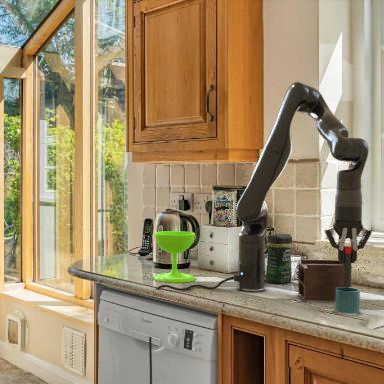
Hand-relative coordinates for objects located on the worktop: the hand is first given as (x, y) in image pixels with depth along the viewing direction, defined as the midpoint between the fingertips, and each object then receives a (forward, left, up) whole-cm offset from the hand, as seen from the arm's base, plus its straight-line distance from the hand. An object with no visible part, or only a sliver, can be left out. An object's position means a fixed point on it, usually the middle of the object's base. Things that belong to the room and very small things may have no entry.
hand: (347, 262), depth 177 cm
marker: (0, 0, -7) cm, 7 cm away
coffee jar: (-13, +48, -15) cm, 52 cm away
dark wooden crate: (-3, +19, -15) cm, 24 cm away
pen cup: (0, 0, -15) cm, 15 cm away
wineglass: (-53, +50, -15) cm, 74 cm away
